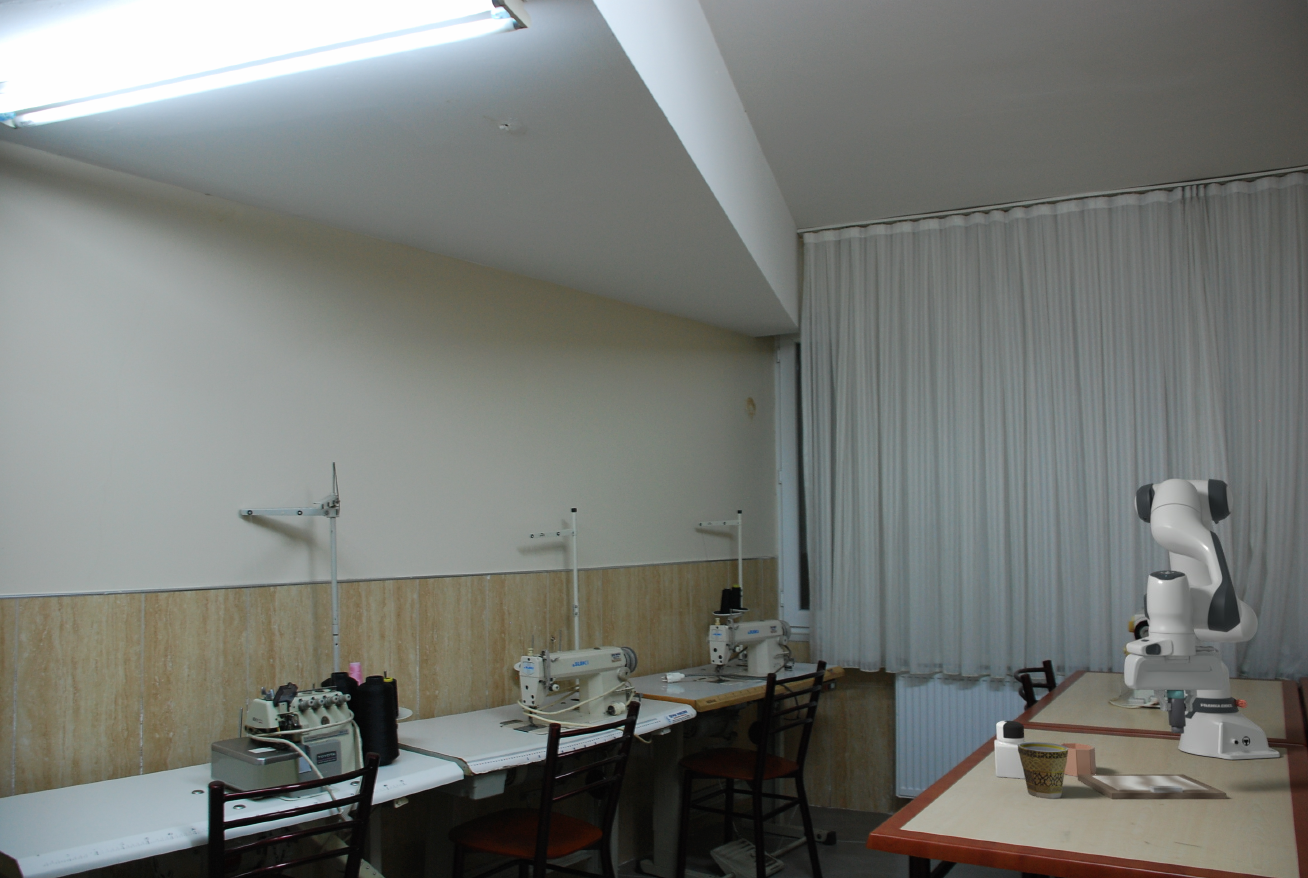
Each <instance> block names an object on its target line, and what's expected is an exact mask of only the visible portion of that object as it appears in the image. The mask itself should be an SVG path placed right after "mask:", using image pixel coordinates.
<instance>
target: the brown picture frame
mask: <svg viewBox="0 0 1308 878" xmlns="http://www.w3.org/2000/svg"><path fill="white" fill-rule="evenodd" d="M1077 781H1079V782H1080V781H1081V782H1080V783H1082V782H1083V784H1084V785H1086V786H1087V787H1089V786H1090V788H1091V787H1092V788H1091V789H1093V790H1095V791H1096V792H1098V793H1100V794H1103V795H1104V796H1106V797H1108V798H1110V799H1111V800H1188V799H1189V800H1222V799H1223V800H1227V792H1225V791H1222V790H1220V789H1218V788H1216V787H1213V786H1211V785H1208V784H1206V783H1204V782H1202V781H1199V780H1197V779H1195V778H1192V777H1190V776H1188V775H1185V774H1183V773H1182V774H1178V773H1177V774H1172V773H1171V774H1170V773H1169V774H1096V775H1078V776H1077Z"/></svg>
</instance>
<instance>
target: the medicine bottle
mask: <svg viewBox="0 0 1308 878" xmlns="http://www.w3.org/2000/svg"><path fill="white" fill-rule="evenodd" d="M995 731H996V739H994V762H995V765H994V767H995V776H996V778H1004V777H1007V778H1006V779H1018V778H1020V780H1021V779H1022V780H1025V776H1024V771H1023V766H1022V763H1021V760H1020V755H1019V752H1018V744H1020V743H1023V742H1026V741H1025V727H1024V724H1023V723H1021V722H1018V721H1014V720H1001V721H998V722H997V723H996V728H995Z"/></svg>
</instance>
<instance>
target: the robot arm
mask: <svg viewBox="0 0 1308 878" xmlns="http://www.w3.org/2000/svg"><path fill="white" fill-rule="evenodd" d="M1233 507H1234V496H1233V493H1232V490H1231V489H1230V487H1229V485H1228V484H1227V483H1226V482H1225V481H1224V480H1221V479H1217V478H1216V479H1214V478H1213V479H1212V478H1208V479H1183V478H1169V479H1166V480H1164V481H1162V482H1159V483H1148V484H1145V485H1141V486H1140V487H1139V488H1138V489H1137V490H1136V494H1135V497H1134V509H1135V511H1136V514H1137V515H1138V518H1139V519H1140V520H1142V521H1143V522H1144V523H1147V524H1150V530H1151V536H1152V538H1153V539H1154V541H1155V542H1156V543H1157V545H1159V546H1160V547H1162V548H1163V549H1165V551H1168V554H1169V557H1168V558H1169V563H1170V570H1158V571H1157V570H1156V571H1153V572H1152V573H1150V574H1149V575H1148V578H1147V585H1146V593H1145V594H1144V595H1143V609H1144V610H1143V612H1144V617H1145V618H1146V619H1147V625H1148V636H1145V637H1143V638H1139V639H1135V640H1133V641H1130V642H1128V643H1127V644H1126V645H1125V646H1126V652H1127V653H1129V654H1128V655H1127V656H1126V657H1125V660H1124V667H1123V669H1124V671H1123V672H1124V673H1123V677H1124V678H1123V679H1124V684H1125V685H1126V687H1127V688H1128V689H1131V690H1134V691H1135V690H1136V691H1153V695H1154V696H1155V698H1156V699H1157V701H1158V702H1159V709H1160V711H1161V712H1168V711H1171V708H1170V707H1171V703H1168V701H1166V698H1165V697H1164V696H1166V691H1167V690H1184V704H1185V720H1186V726H1185V727H1184V733H1183V734H1180V738H1179V743H1178V746H1177V748H1178V750H1180V751H1182V752H1185V753H1189V754H1192V755H1199V756H1205V757H1212V758H1213V757H1214V758H1220V759H1225V760H1246V759H1250V760H1251V759H1267V758H1268V759H1269V758H1270V759H1271V758H1280V757H1281V756H1280V752H1279V751H1278V750H1276V749H1274V748H1271V747H1270V746H1269V743H1268V737H1267V735H1266V733H1265V731H1264V730H1263V729H1262V728H1261V726H1259V725H1257V724H1256V723H1255V722H1253V721H1252V720H1251V719H1249V718H1248V717H1246V716H1245V715H1244V714H1243V713H1242V712H1240V710H1239V708H1242V709H1246V708H1247V707H1248V702H1247V701H1246V700H1245V699H1241V698H1238V699H1236V698H1234V697H1233V696H1232V695H1231V684H1230V681H1231V680H1230V670H1229V668H1228V666H1227V665H1226V664H1225V662H1224V661H1222V655H1221V654H1222V652H1221V651H1219V650H1218V649H1217V648H1216V647H1214V646H1211V645H1207V646H1204V643H1203V642H1209V643H1222V644H1231V643H1232V644H1233V643H1234V644H1235V643H1243V642H1249V641H1251V639H1253V638H1254V636H1255V635H1256V633H1257V631H1258V627H1259V620H1258V617H1257V614H1256V612H1255V611H1254V609H1253V608H1252V607H1251V606H1250V605H1249V604H1247V603H1246V602H1244V601H1243V600H1241V599H1240V598H1239V596H1238V594H1237V592H1236V590H1235V588H1234V584H1233V580H1232V577H1231V573H1230V569H1229V566H1228V562H1227V559H1226V555H1225V552H1224V549H1223V546H1222V543H1221V540H1220V538H1219V536H1218V535H1217V533H1216V532H1215V529H1214V525H1213V523H1214V524H1215V525H1217V524H1219V522H1220V521H1223V520H1225V519H1226V518H1228V517H1229V516H1230V515H1231V512H1232V509H1233ZM1212 521H1213V523H1212Z"/></svg>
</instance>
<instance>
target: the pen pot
mask: <svg viewBox="0 0 1308 878" xmlns="http://www.w3.org/2000/svg"><path fill="white" fill-rule="evenodd" d="M1058 744H1059V745H1063V746H1065V747H1067V748H1068V755H1067V763H1066V767H1065V771H1064V775H1066V774H1068V775H1067V776H1072V775H1073V777H1078V775H1095V774H1096V775H1097V767H1096V766H1097V765H1096V748H1095V747H1094V746H1093V745H1090V744H1085V743H1080V742H1079V743H1078V742H1062V743H1058Z"/></svg>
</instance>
